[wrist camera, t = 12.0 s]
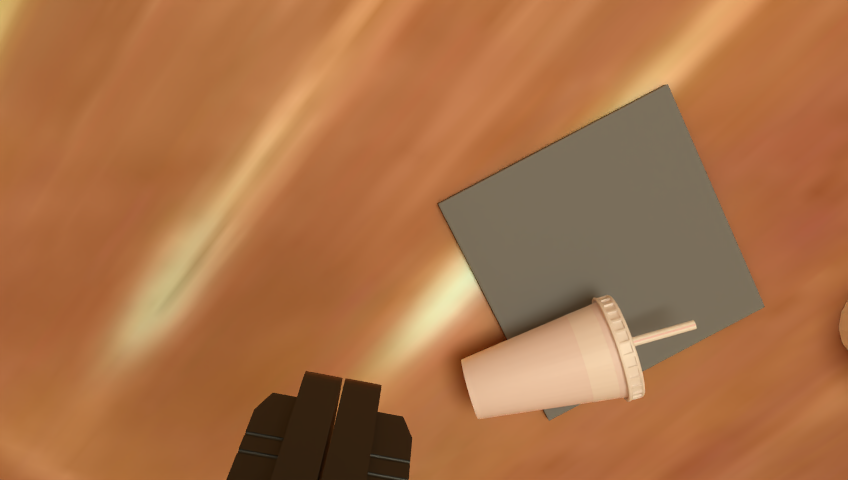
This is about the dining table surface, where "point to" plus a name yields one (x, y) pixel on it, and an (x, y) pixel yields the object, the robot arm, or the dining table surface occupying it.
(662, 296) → the mat
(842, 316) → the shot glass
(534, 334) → the smoothie
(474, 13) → the dining table surface
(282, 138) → the dining table surface
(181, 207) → the dining table surface
